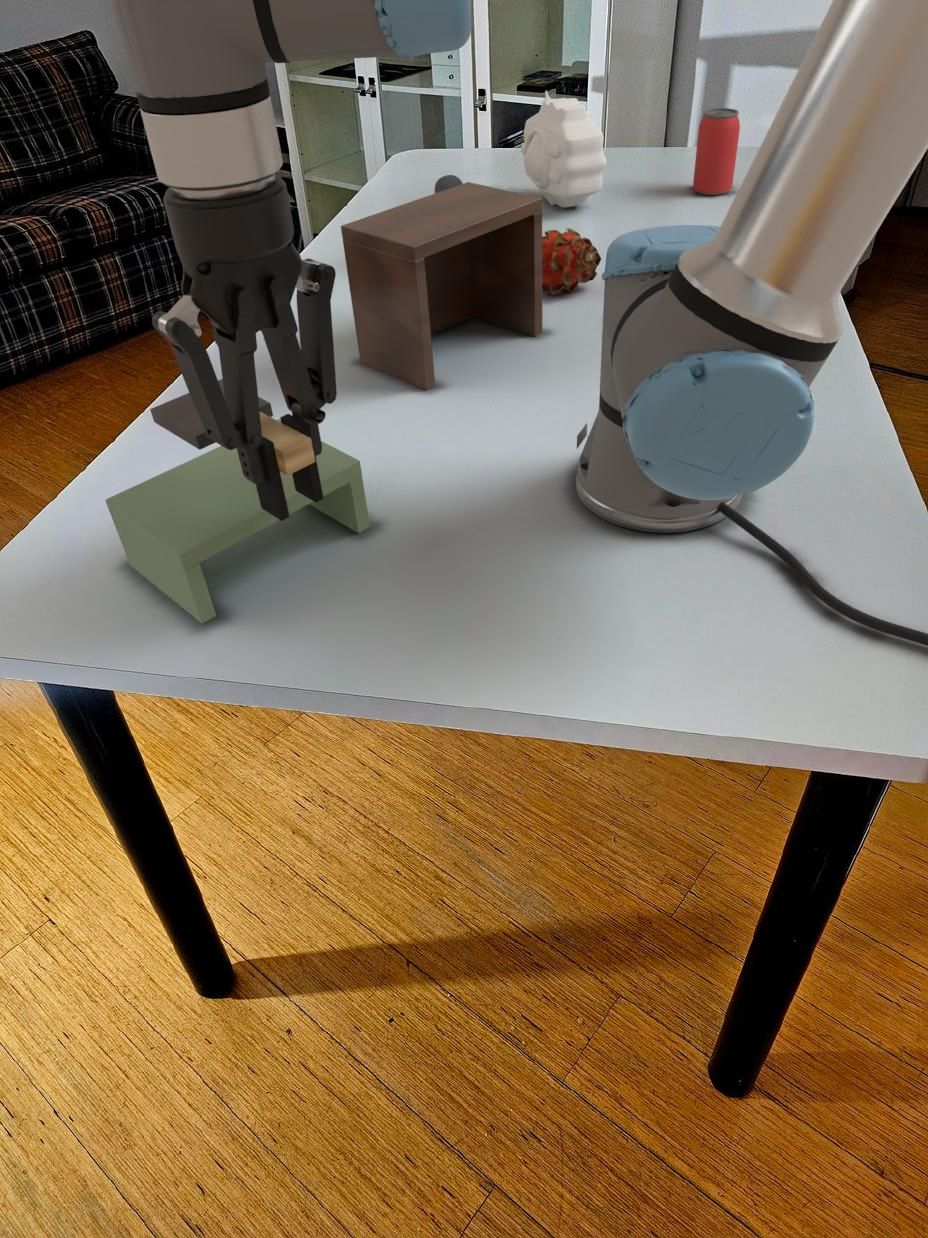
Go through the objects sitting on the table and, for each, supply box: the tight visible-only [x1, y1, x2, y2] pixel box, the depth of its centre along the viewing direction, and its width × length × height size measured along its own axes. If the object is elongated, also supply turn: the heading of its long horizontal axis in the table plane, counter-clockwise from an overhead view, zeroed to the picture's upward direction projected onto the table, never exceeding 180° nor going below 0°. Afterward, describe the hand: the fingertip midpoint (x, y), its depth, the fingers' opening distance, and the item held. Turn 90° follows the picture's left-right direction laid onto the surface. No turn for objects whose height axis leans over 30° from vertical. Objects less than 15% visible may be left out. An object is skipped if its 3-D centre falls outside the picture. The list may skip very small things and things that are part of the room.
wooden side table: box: [340, 181, 543, 391], centre depth 105 cm, size 12×20×16 cm, turn 135°
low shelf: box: [104, 418, 371, 625], centre depth 78 cm, size 12×18×7 cm, turn 135°
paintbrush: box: [434, 174, 464, 194], centre depth 149 cm, size 20×5×5 cm, turn 38°
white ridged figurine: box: [520, 90, 607, 208], centre depth 146 cm, size 11×18×16 cm, turn 21°
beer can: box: [692, 107, 741, 196], centre depth 148 cm, size 7×7×12 cm
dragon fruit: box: [542, 227, 602, 296], centre depth 120 cm, size 8×8×12 cm
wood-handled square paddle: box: [150, 378, 315, 476], centre depth 69 cm, size 16×7×2 cm, turn 45°
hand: (292, 502), depth 70 cm, fingers closed on wood-handled square paddle, 3 cm apart
